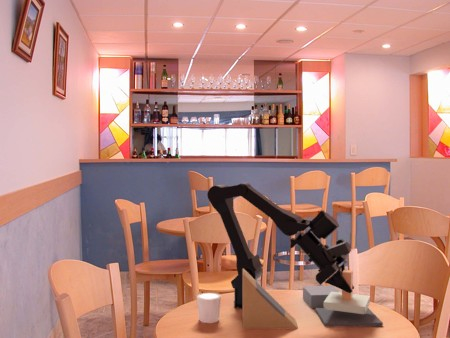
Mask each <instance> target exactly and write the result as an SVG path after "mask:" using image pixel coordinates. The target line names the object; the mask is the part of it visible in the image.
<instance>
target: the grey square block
mask: <svg viewBox="0 0 450 338" xmlns="http://www.w3.org/2000/svg"><path fill="white" fill-rule="evenodd" d="M330 292H340V293H342V291H340V290H339V289H338V288H337V287H335V286H333V285H312V286H311V285H310V286H309V285H308V286H307V285H306V286H302V299H303V300H304V302H306V304H307V305H308V306H309V308H311V309H315V308H323V304H324V301H325V299H326V298H327V297H328V295H329V294H330Z"/></svg>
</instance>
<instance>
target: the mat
mask: <svg viewBox="0 0 450 338" xmlns="http://www.w3.org/2000/svg"><path fill="white" fill-rule="evenodd" d="M314 312H315V313H316V315H317V316H318V318H319V320H320V322H321V323H322V324H323V326H324V327H325V328H326V327H327V328H328V327H329V328H331V327H332V328H333V327H341V328H342V327H383V325H384V323H383V321H382V320H381V319H380V318H379V317H378V316H377V315H376V314H375V313H374V312H373V310H371V309H370V308H369V307H368V309H367V311H366V313H365V314H358V313H350V312H342V311H335V310H327V309H323V308H314Z"/></svg>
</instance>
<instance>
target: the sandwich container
mask: <svg viewBox="0 0 450 338" xmlns="http://www.w3.org/2000/svg"><path fill="white" fill-rule="evenodd" d="M242 289H243V290H242V293H243V308H242V329H246V330H247V329H250V330H251V329H252V330H258V329H259V330H299V325H298V323H297V320H296V318H294V316H292V315H291V314H290V313H289V312H288V311H287V310H286V309H285V308H284V307H283V306H282V305H281V304H280V303H279V302H278V301H277V300H276V299H275V298H274V297H273V296H272V295H271V294H270V293H269V292H268V291H267V290H266V289H265V288H264V287H262V285H261V284H260V283H258V280H257V281H256V280H255V279H254V278H253V277H252V276H251V275H250V274H249V273H248V272H247V271H246V270H245V269H244V268H243V269H242Z"/></svg>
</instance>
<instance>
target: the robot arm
mask: <svg viewBox="0 0 450 338" xmlns="http://www.w3.org/2000/svg"><path fill="white" fill-rule="evenodd" d="M206 195H207V200H208V201H209V202H210V204H211V206H212V208H213V209H214V210H215V211H216V212H217V213H218V214H219V216H220V219H221V221H222V224H223V226H224V229H225V232H226V235H227V236H228V239H229V241H230V244H231V247H232V249H233V251H234V254H235V258H236V260H235V261H236V262H235V263H236V266H235V267H236V270H237V275H236V276H235V277H234V278H233V279H232V280H231V281H230V284H231V288H233V289H234V292H233V293H234V297H233V299H234V300H233V305H234V306H233V307H234V309H243V293H242V290H243V289H242V269H243V268H244V269H245V270H246V271H247V272H248V273H249V274H250V275H251V276H252V277H253V278H254V279H255V280H256V281H257V282H258V279H260V278H261V277H262V274H263V266H264V265H263V264H262V262H261V260H260V255H259V254H256V255H254V253H252V252H251V250H250V248H249V246H248V242H247V241H246V238H245V235H244V232H243V230H242V226H241V225H240V223H239V221H238V220H239V219H238V218H237V215H236V213H235V209H234V208H235V207H234V198H237V197H242V198H243V199H245V200H246V201H247V202H248V203H250V204H251V205H252V206H254V208H255V207H256V208H257V209H258V210H259V211H261V212H262V213H263V214H265V215H266V216H267V217H269V218H270V219H271V220H272V222H273V223H274V224H275V226H276V228H278V230H280V232H282V234H284V235H286V236H287V237H289V236H290V237H291V236H295V235H296V234H298V233H299V234H298V235H297V236H296V237H291V238H290V239H289V241H290V246H289V248H290V249H293V248H294V247H296V246H297V247H299V249H300V250H301V251H302V252H303V253H304V254H305V256H307V257H308V258H309V259H307V260H308V262H310V263H313V264H314V265H315V266H316V267H317V268H318V270H317V271H318V273H316V275H315V281H316V282H317V283H318V284H319V286H322V284H323V283H324V284H328V285H329V286H334V287H335V288H336V289H338V290H341V291H342V290H344V291H346V292H348V293H351V292H352V289H351V287H350V286H349V284H348V283H347V282H346V280H345V279H344V277H343V276H342V272H343V271H344V270H346V260H347V257H346V255H349V254H351V252H352V248H350V243H349V242H348V240H344V239H343V238H339V239H338V240H336V242H335V244H334V245H333V246H329V245H328V244H323V243H322V242H321V240H322V239H323V240H326V239H327V238H329V236H330V235H332V234H333V233H335V231H336V230H337V229H338V228H340V223H338V220H336V219H335V218H334V216H332V215H330V214H329V213H327V212H326V211H325V210H324V209H322V210H321V211H320V210H319V212H318V213H317V215H316V216H315V217H314V218H313V219H312V220H309V219H304V218H303V219H302V217H301V216H300V215H298V214H297V213H294V212H292V211H290V210H287V209H284V208H282V207H280V206H279V205H277V204H276V203H275V202H273V200H271V199H269V198H267V196H265V195H264V194H263V193H261V192H260V191H258V190H257V189H255V188H254V187H253V186H252V185H251V184H250V183H248V182H242V183H239V184H236V185H231V186H228V185H226V184H217V185H216V184H215V185H212V186H211V187H210V188H209V189H208V191H207V194H206ZM307 229H308V230H307ZM306 230H307V231H306ZM304 231H306V232H304ZM354 289H355V286H354V285H353V290H354Z"/></svg>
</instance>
